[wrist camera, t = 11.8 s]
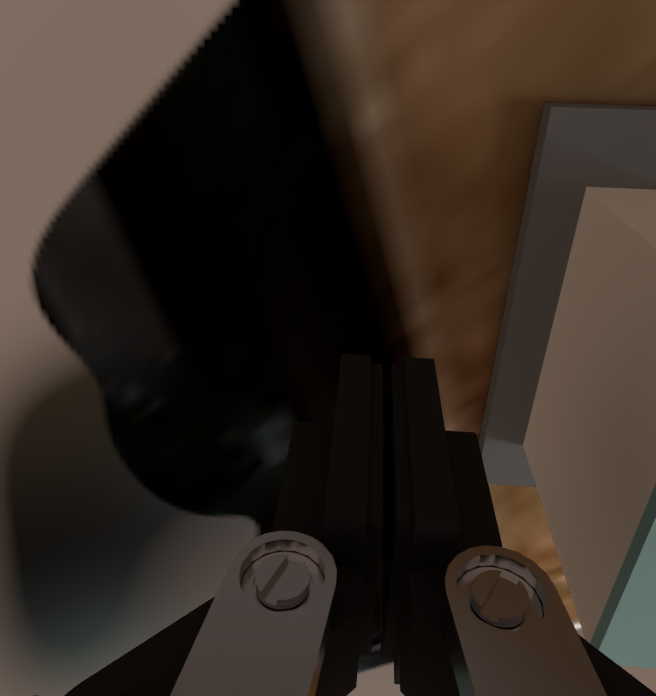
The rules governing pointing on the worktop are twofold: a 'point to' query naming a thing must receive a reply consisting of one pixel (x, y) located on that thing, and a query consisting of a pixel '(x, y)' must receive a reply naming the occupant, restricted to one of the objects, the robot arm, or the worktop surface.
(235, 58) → the worktop surface
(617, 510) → the cream tile
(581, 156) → the rubber mat
